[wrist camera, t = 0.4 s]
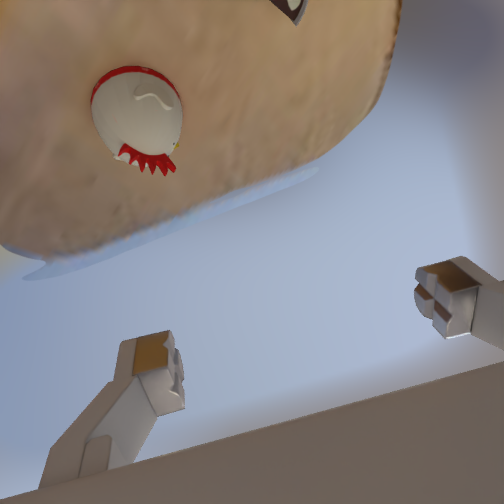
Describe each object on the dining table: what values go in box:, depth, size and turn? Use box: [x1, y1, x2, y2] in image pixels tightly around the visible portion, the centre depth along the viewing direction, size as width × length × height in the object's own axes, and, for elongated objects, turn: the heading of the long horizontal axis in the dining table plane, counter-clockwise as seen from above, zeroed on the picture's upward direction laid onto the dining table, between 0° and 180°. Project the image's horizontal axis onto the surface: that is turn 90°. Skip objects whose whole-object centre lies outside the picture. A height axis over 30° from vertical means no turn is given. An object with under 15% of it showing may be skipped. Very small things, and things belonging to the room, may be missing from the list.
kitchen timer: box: [91, 66, 183, 176], centre depth 57 cm, size 14×14×15 cm
